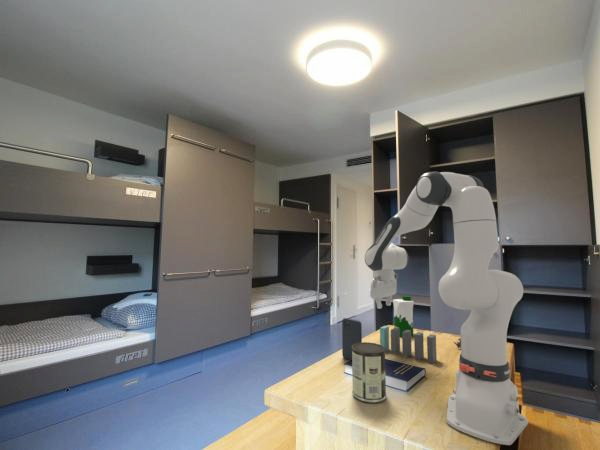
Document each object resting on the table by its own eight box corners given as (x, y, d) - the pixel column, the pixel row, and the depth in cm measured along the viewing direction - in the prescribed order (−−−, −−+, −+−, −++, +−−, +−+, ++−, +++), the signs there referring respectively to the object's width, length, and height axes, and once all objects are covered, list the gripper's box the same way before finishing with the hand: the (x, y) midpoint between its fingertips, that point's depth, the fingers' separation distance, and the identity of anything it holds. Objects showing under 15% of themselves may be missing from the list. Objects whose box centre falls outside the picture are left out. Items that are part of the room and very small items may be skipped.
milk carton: (416, 337, 149) (415, 297, 151) (400, 338, 148) (399, 297, 149) (407, 332, 158) (406, 294, 160) (391, 333, 156) (390, 295, 158)
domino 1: (380, 351, 129) (379, 327, 130) (384, 348, 133) (384, 325, 134) (384, 352, 128) (384, 328, 128) (389, 349, 132) (388, 326, 132)
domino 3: (411, 354, 125) (411, 330, 126) (407, 357, 121) (406, 332, 122) (406, 353, 126) (406, 329, 127) (402, 356, 123) (402, 332, 123)
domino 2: (400, 351, 128) (399, 328, 129) (395, 354, 125) (395, 330, 125) (395, 350, 130) (395, 327, 130) (391, 353, 126) (390, 329, 127)
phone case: (341, 357, 121) (341, 318, 122) (343, 356, 122) (343, 317, 123) (360, 363, 114) (359, 321, 116) (362, 362, 116) (362, 321, 117)
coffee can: (369, 383, 98) (369, 340, 99) (393, 397, 89) (392, 349, 90) (345, 390, 93) (344, 344, 94) (367, 406, 84) (367, 355, 85)
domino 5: (436, 360, 119) (435, 335, 120) (432, 364, 115) (432, 337, 116) (431, 359, 120) (430, 334, 121) (427, 362, 116) (426, 336, 117)
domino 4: (423, 357, 122) (423, 332, 123) (419, 360, 118) (419, 335, 119) (418, 356, 123) (418, 331, 124) (414, 359, 119) (414, 334, 120)
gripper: (380, 277, 123) (380, 311, 122) (398, 274, 139) (399, 304, 137) (366, 276, 127) (366, 309, 126) (386, 274, 143) (386, 303, 141)
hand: (384, 306), depth 132 cm, fingers open, 8 cm apart
